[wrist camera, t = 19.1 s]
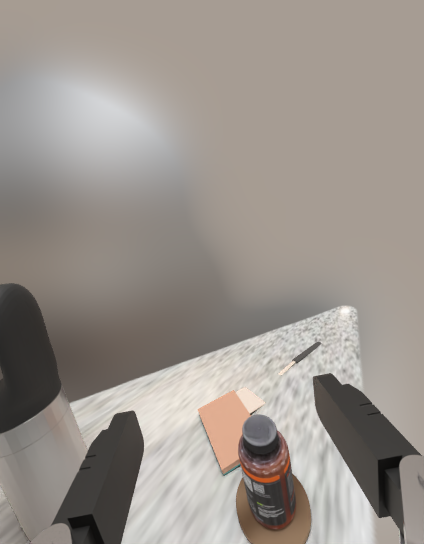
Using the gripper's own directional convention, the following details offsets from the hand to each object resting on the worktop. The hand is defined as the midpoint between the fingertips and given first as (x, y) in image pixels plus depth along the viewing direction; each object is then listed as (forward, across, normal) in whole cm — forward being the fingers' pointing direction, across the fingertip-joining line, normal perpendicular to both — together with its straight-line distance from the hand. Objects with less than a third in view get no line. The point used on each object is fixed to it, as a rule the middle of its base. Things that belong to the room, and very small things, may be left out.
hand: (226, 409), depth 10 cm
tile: (+18, 0, +27) cm, 33 cm away
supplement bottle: (+13, -3, +27) cm, 30 cm away
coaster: (+13, -3, +28) cm, 31 cm away
